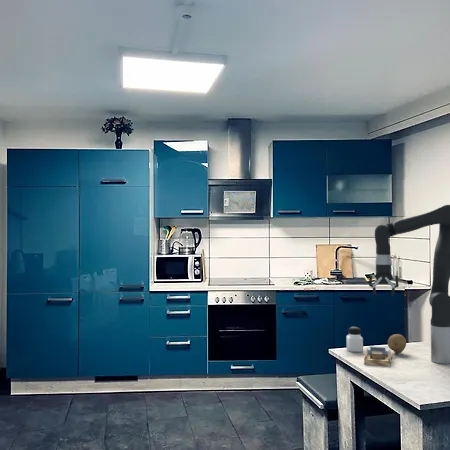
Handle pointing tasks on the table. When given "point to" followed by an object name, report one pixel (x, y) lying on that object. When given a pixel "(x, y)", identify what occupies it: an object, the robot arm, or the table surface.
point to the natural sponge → (397, 343)
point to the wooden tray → (384, 362)
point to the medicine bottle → (354, 340)
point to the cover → (378, 350)
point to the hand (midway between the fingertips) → (383, 295)
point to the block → (377, 355)
